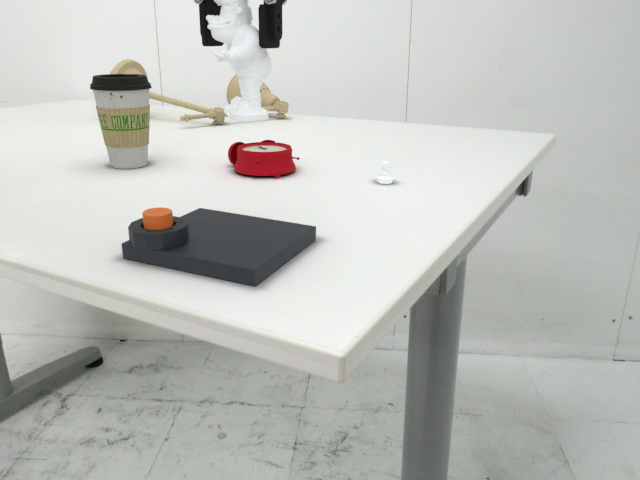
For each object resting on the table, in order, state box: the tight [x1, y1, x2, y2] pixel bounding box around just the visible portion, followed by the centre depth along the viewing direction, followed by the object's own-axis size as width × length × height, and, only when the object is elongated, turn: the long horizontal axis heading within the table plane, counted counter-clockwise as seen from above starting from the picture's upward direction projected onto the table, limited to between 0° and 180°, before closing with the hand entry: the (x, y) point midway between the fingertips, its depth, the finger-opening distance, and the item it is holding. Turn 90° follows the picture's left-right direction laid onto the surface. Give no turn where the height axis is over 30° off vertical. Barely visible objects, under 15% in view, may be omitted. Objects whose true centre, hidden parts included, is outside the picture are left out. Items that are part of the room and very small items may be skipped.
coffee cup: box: [89, 73, 153, 170], centre depth 97 cm, size 10×10×15 cm
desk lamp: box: [109, 58, 290, 126], centre depth 150 cm, size 15×35×40 cm
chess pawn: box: [376, 160, 394, 185], centre depth 90 cm, size 3×3×4 cm
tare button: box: [141, 207, 174, 230], centre depth 59 cm, size 3×3×2 cm
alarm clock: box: [227, 139, 300, 179], centre depth 98 cm, size 10×6×15 cm
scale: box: [121, 207, 317, 287], centre depth 62 cm, size 16×14×4 cm
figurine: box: [206, 0, 273, 122], centre depth 59 cm, size 9×7×12 cm
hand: (241, 45), depth 58 cm, fingers closed on figurine, 6 cm apart
